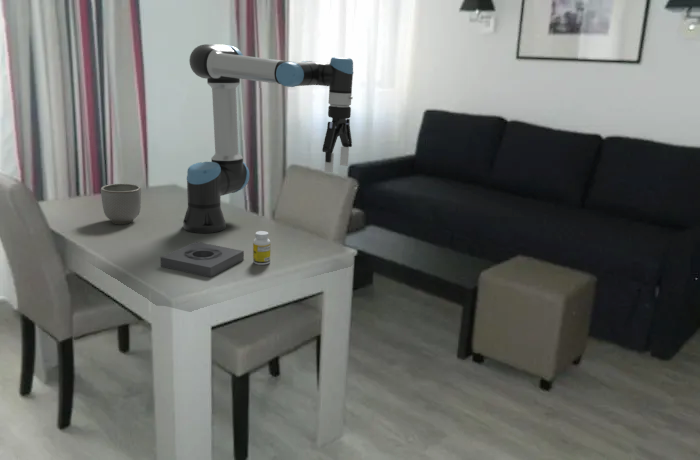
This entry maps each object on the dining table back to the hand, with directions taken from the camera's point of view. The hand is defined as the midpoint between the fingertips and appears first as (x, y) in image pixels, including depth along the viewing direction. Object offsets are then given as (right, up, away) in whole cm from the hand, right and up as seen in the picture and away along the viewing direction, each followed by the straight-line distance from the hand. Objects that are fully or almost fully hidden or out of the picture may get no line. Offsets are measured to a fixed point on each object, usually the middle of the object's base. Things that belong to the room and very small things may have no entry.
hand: (336, 168), depth 220 cm
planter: (-79, -18, +18) cm, 83 cm away
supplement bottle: (-23, -31, -16) cm, 42 cm away
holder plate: (-41, -31, -20) cm, 55 cm away
